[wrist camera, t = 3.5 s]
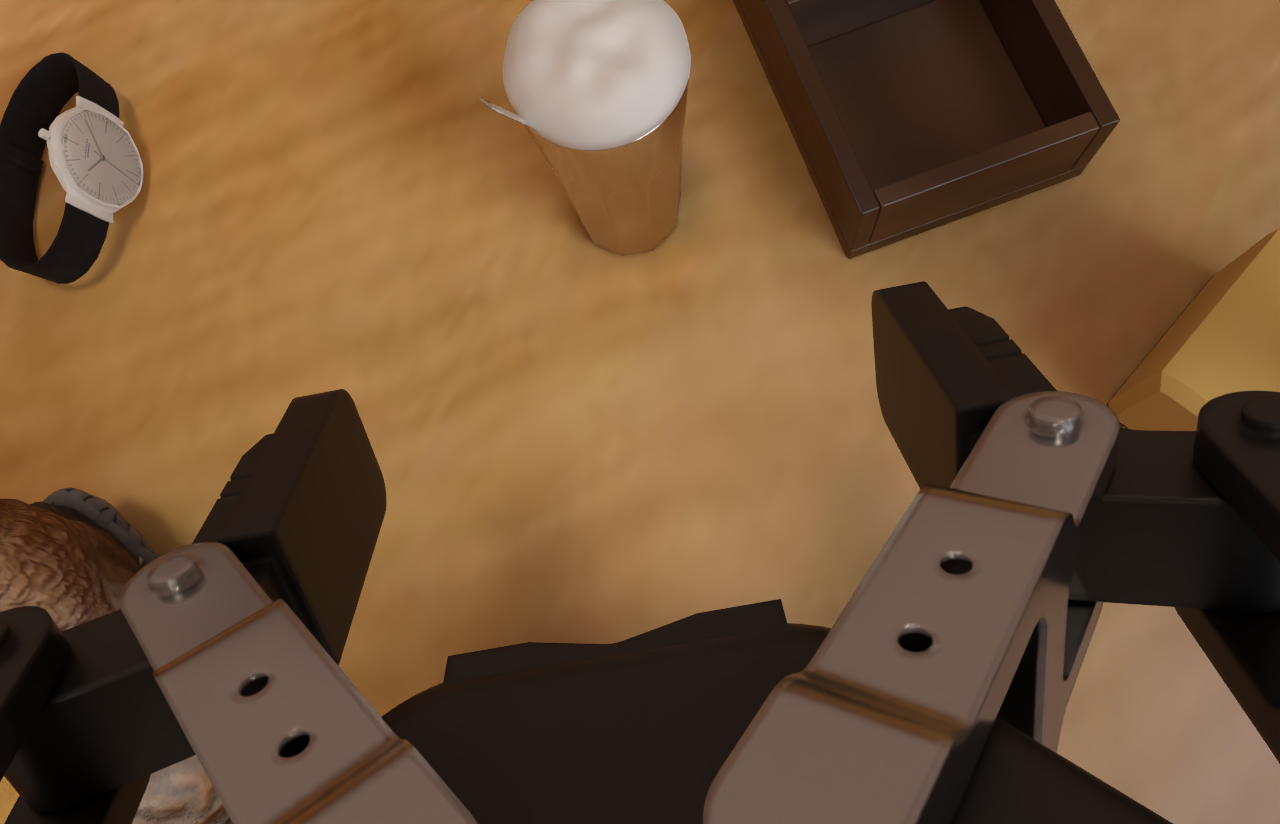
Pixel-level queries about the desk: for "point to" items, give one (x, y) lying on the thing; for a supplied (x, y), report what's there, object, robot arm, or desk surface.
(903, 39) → the tray
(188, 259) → the desk surface
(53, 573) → the brown animal figure
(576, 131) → the milkshake
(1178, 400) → the rubber stamp
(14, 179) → the watch
